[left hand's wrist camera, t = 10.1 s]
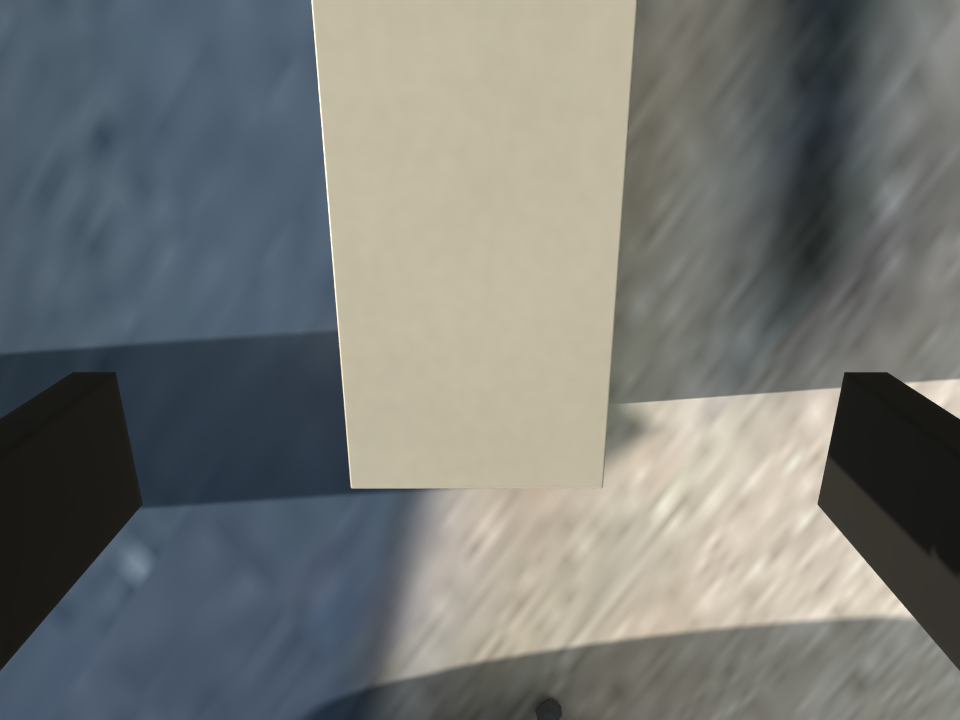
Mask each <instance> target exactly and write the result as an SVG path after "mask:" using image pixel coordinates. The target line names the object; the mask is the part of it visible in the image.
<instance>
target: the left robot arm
mask: <svg viewBox="0 0 960 720" xmlns="http://www.w3.org/2000/svg"><path fill="white" fill-rule="evenodd" d="M141 505H142V500H141V495H140V490H139V485H138V480H137V475H136V470H135V466H134V461H133V456H132V451H131V446H130V441H129V436H128V431H127V427H126V422H125V417H124V412H123V407H122V402H121V397H120V392H119V388H118V383H117V378H116V373H115V372H73V373H71V374H70V375H68V376H67V377H65V378H63V379H62V380H60V381H59V382H57V383H56V384H54V385H53V386H51V387H50V388H48V389H46V390H45V391H43V392H42V393H40V394H39V395H37V396H36V397H34V398H32V399H31V400H29V401H28V402H26V403H25V404H23V405H22V406H20V407H19V408H17V409H15V410H14V411H12V412H11V413H9V414H8V415H6V416H5V417H3V418H1V419H0V670H1V669H2V668H3V667H4V666H5V664H6V663H7V662H8V661H9V660H10V659H11V657H12V656H13V655H14V654H15V653H16V652H17V650H18V649H19V648H20V647H21V646H22V645H23V643H24V642H25V641H26V640H27V639H28V638H29V636H30V635H31V634H32V633H33V632H34V631H35V629H36V628H37V627H38V626H39V625H40V624H41V622H42V621H43V620H44V619H45V618H46V617H47V615H48V614H49V613H50V612H51V611H52V610H53V608H54V607H55V606H56V605H57V604H58V603H59V601H60V600H61V599H62V598H63V597H64V595H65V594H66V593H67V592H68V591H69V590H70V588H71V587H72V586H73V585H74V584H75V583H76V581H77V580H78V579H79V578H80V577H81V576H82V574H83V573H84V572H85V571H86V570H87V569H88V567H89V566H90V565H91V564H92V563H93V562H94V560H95V559H96V558H97V557H98V556H99V555H100V553H101V552H102V551H103V550H104V549H105V548H106V546H107V545H108V544H109V543H110V542H111V541H112V539H113V538H114V537H115V536H116V535H117V534H118V532H119V531H120V530H121V529H122V528H123V526H124V525H125V524H126V523H127V522H128V521H129V519H130V518H131V517H132V516H133V515H134V514H135V512H136V511H137V510H138V509H139V508H140V507H141ZM818 505H819V507H820V508H821V509H822V510H823V511H824V512H825V514H826V515H827V516H828V517H829V518H830V519H831V521H832V522H833V523H834V524H835V525H836V526H837V528H838V529H839V530H840V531H841V532H842V534H843V535H844V536H845V537H846V538H847V539H848V541H849V542H850V543H851V544H852V545H853V546H854V548H855V549H856V550H857V551H858V552H859V553H860V555H861V556H862V557H863V558H864V559H865V560H866V562H867V563H868V564H869V565H870V566H871V567H872V569H873V570H874V571H875V572H876V573H877V574H878V576H879V577H880V578H881V579H882V580H883V581H884V583H885V584H886V585H887V586H888V587H889V588H890V590H891V591H892V592H893V593H894V594H895V595H896V597H897V598H898V599H899V600H900V601H901V603H902V604H903V605H904V606H905V607H906V608H907V610H908V611H909V612H910V613H911V614H912V615H913V617H914V618H915V619H916V620H917V621H918V622H919V624H920V625H921V626H922V627H923V628H924V629H925V631H926V632H927V633H928V634H929V635H930V636H931V638H932V639H933V640H934V641H935V642H936V643H937V645H938V646H939V647H940V648H941V649H942V650H943V652H944V653H945V654H946V655H947V656H948V657H949V659H950V660H951V661H952V662H953V663H954V664H955V666H956V667H957V668H958V669H959V670H960V419H959V418H957V417H955V416H954V415H952V414H951V413H949V412H948V411H946V410H945V409H943V408H941V407H940V406H938V405H937V404H935V403H934V402H932V401H931V400H929V399H928V398H926V397H924V396H923V395H921V394H920V393H918V392H917V391H915V390H914V389H912V388H910V387H909V386H907V385H906V384H904V383H903V382H901V381H900V380H898V379H897V378H895V377H893V376H892V375H890V374H889V373H887V372H845V373H844V378H843V383H842V388H841V392H840V397H839V402H838V407H837V412H836V417H835V422H834V427H833V431H832V436H831V441H830V446H829V451H828V456H827V461H826V466H825V470H824V475H823V480H822V485H821V490H820V495H819V500H818Z"/></svg>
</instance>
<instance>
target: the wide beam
mask: <svg viewBox="0 0 960 720" xmlns="http://www.w3.org/2000/svg"><path fill="white" fill-rule="evenodd" d="M312 13H313V25H314V37H315V50H316V62H317V74H318V87H319V99H320V111H321V124H322V136H323V149H324V161H325V173H326V186H327V198H328V210H329V223H330V235H331V247H332V260H333V272H334V284H335V297H336V309H337V322H338V334H339V346H340V359H341V371H342V383H343V396H344V408H345V420H346V433H347V445H348V457H349V470H350V482H351V488H602V487H603V478H604V464H605V450H606V435H607V421H608V407H609V393H610V379H611V365H612V351H613V337H614V323H615V309H616V295H617V281H618V267H619V253H620V239H621V225H622V211H623V196H624V182H625V168H626V154H627V140H628V126H629V112H630V98H631V84H632V70H633V56H634V42H635V28H636V14H637V0H312Z"/></svg>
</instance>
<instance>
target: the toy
mask: <svg viewBox="0 0 960 720" xmlns="http://www.w3.org/2000/svg"><path fill="white" fill-rule="evenodd" d="M535 710H536V714H537V718H538V720H559V719H560V717H561V716H562V711H561V706H560V705H558V704H557V703H556V702H554V701H553V700H552V699H551V698H550V699H548V700H547V701H546V702H544V703H543V704H542V705H541V706H539V707H538V708H537V709H535Z"/></svg>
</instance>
